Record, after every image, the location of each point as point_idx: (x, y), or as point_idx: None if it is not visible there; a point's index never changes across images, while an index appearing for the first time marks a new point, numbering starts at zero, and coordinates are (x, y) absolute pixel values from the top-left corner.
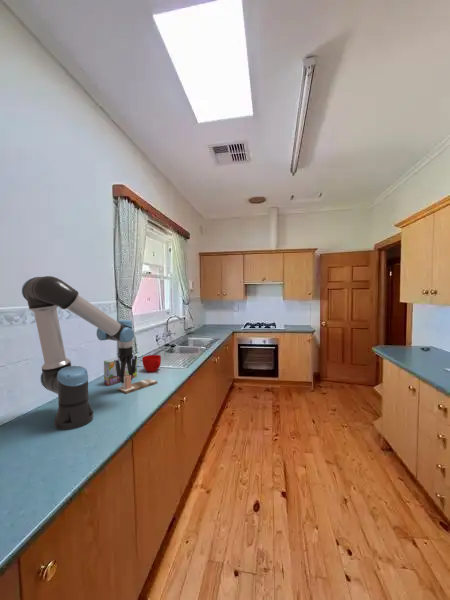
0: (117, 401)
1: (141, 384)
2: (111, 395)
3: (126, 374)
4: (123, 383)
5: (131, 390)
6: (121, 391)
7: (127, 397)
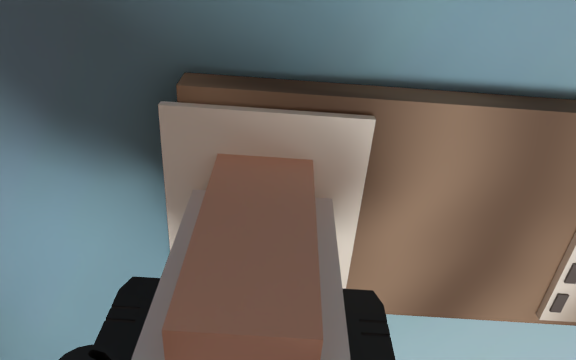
0: (16, 356)
1: (507, 256)
2: (13, 175)
3: (315, 349)
4: None
5: None
6: None
7: None
